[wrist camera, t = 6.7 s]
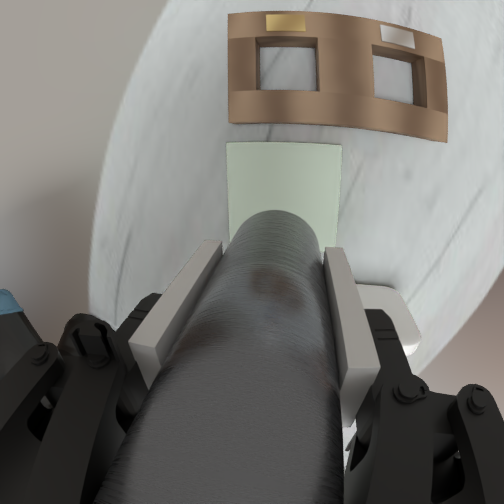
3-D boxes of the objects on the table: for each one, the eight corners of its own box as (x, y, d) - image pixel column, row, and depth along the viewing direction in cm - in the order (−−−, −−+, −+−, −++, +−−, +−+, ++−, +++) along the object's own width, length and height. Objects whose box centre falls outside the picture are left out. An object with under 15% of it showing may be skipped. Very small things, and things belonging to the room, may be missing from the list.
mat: (231, 246, 32) (230, 248, 32) (227, 142, 28) (226, 142, 27) (333, 250, 31) (334, 252, 30) (341, 145, 26) (342, 145, 25)
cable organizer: (401, 283, 31) (434, 343, 21) (379, 344, 36) (395, 406, 25) (287, 273, 33) (282, 338, 23) (279, 338, 37) (272, 405, 27)
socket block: (236, 124, 27) (228, 122, 23) (235, 25, 22) (227, 13, 18) (432, 140, 24) (448, 142, 20) (428, 45, 19) (442, 38, 15)
